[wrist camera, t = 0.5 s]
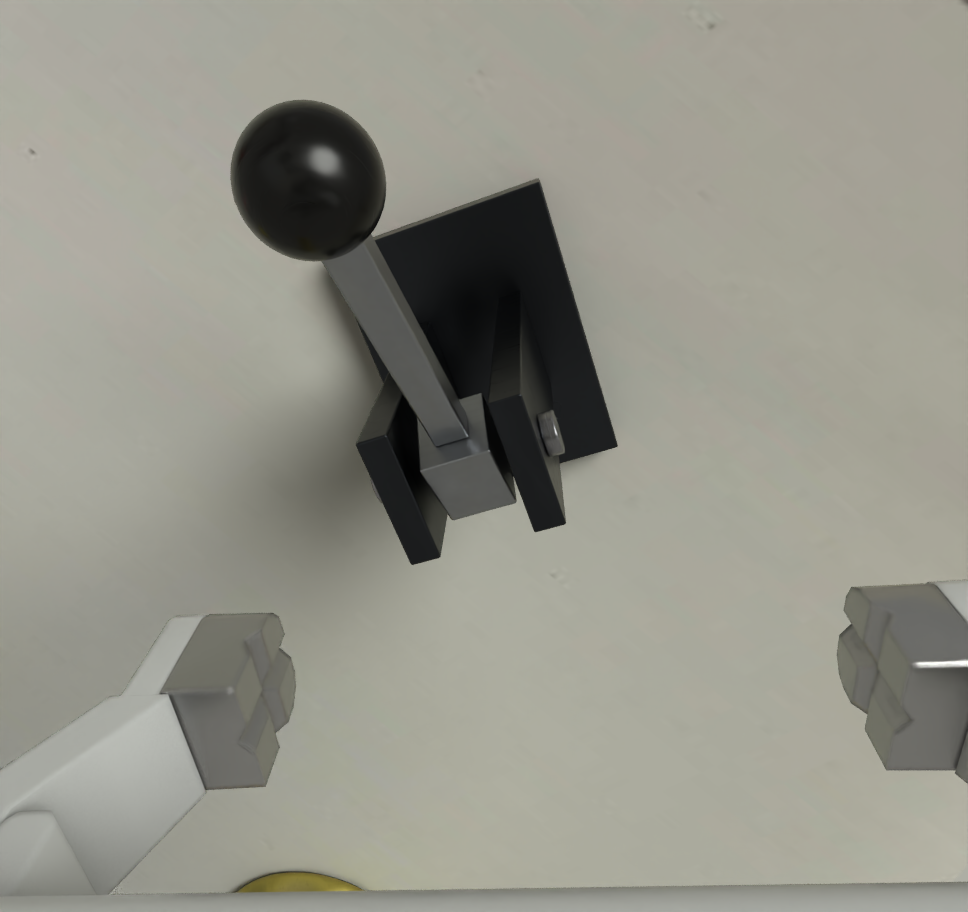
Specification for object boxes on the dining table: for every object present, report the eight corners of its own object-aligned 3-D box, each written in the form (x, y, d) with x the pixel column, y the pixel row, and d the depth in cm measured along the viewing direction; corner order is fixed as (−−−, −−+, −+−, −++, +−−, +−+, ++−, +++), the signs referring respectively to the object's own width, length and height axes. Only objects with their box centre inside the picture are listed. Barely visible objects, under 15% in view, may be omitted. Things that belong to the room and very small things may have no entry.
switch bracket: (335, 250, 31) (230, 343, 20) (538, 177, 30) (551, 233, 18) (435, 486, 36) (397, 670, 25) (614, 435, 35) (662, 607, 23)
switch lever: (209, 105, 16) (186, 184, 14) (345, 49, 15) (342, 123, 13) (432, 458, 26) (438, 535, 23) (520, 432, 25) (534, 509, 23)
